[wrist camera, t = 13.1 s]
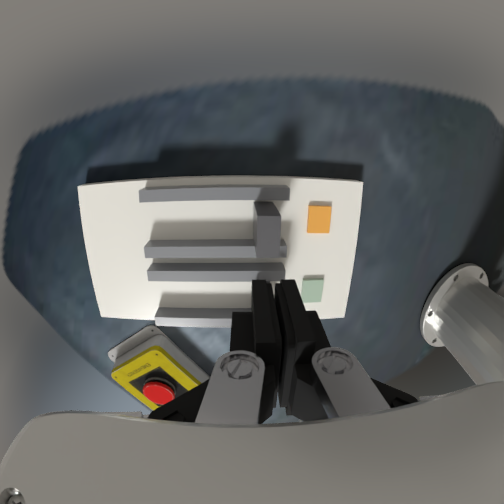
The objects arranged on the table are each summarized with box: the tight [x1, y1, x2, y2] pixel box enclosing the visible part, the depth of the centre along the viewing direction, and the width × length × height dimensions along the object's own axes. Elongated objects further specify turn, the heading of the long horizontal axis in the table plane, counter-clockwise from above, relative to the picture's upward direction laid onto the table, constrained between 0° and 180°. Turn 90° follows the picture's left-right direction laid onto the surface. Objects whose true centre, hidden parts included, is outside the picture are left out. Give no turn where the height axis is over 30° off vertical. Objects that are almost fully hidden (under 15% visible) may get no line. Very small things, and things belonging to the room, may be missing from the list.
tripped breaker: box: [253, 202, 281, 258], centre depth 22 cm, size 2×3×5 cm, turn 179°
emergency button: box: [108, 325, 210, 411], centre depth 31 cm, size 9×4×15 cm
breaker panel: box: [78, 175, 363, 327], centre depth 26 cm, size 26×14×3 cm, turn 89°
